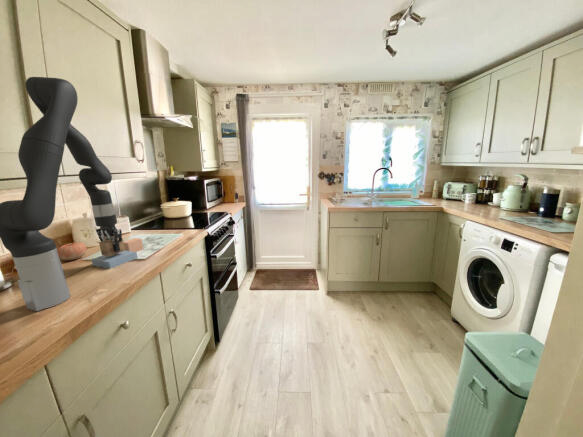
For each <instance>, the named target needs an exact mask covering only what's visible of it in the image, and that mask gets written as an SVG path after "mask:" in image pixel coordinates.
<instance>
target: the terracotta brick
mask: <svg viewBox="0 0 583 437" xmlns="http://www.w3.org/2000/svg"><path fill="white" fill-rule="evenodd" d="M123 242H124V247H125V251H133V252H136V253H138V252H141V251H143V250H144V246H143V240H142V238H137V237H134V238H131V239H127V240H123ZM142 249H143V250H142ZM140 250H141V251H140ZM137 251H138V252H137Z"/></svg>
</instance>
